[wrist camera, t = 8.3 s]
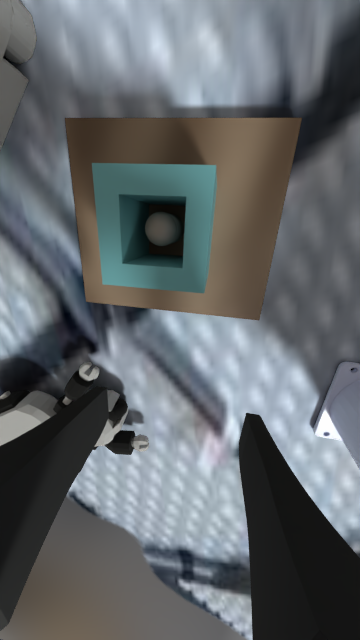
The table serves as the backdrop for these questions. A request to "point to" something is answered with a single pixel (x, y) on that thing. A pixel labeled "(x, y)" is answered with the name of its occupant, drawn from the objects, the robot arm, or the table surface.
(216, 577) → the table surface
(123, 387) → the table surface
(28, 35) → the hinge
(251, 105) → the table surface
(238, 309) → the stub base
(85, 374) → the robot toy
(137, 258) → the collar
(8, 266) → the table surface
